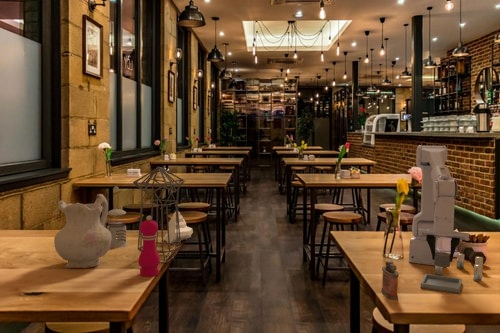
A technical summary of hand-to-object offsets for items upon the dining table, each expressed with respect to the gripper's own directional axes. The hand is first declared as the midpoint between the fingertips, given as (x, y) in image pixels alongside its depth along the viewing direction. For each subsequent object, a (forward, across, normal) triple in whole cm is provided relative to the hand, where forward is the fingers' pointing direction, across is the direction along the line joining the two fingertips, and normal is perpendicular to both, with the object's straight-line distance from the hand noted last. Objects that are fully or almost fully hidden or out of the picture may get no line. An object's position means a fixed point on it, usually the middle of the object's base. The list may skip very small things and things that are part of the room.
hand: (442, 260), depth 146 cm
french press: (+8, -127, -12) cm, 128 cm away
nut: (+2, 0, 0) cm, 2 cm away
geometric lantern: (+8, -96, -20) cm, 99 cm away
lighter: (+8, -13, -17) cm, 23 cm away
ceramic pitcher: (+8, -117, -37) cm, 123 cm away
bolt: (+9, +7, +38) cm, 39 cm away
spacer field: (+8, +4, +17) cm, 19 cm away
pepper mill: (+8, -88, -36) cm, 96 cm away
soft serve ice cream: (+8, -109, +8) cm, 110 cm away
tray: (+8, 0, 0) cm, 8 cm away
